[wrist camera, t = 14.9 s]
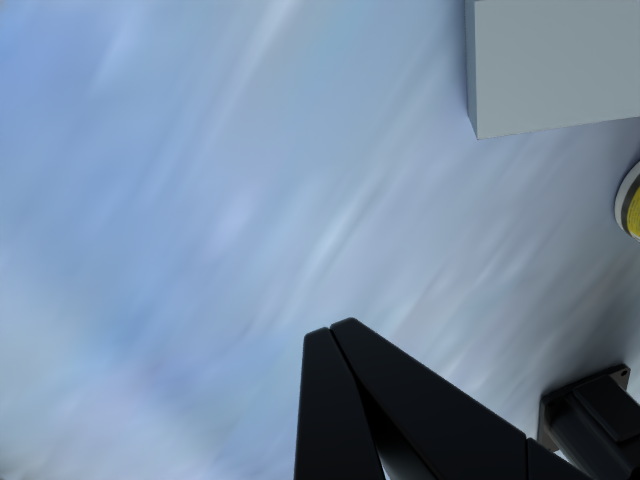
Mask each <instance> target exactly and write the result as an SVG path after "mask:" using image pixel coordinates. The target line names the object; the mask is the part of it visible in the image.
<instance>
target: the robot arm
mask: <svg viewBox="0 0 640 480" xmlns="http://www.w3.org/2000/svg"><path fill="white" fill-rule="evenodd" d="M630 371H631V370H630V368H629V367H628V366H627V365H626V364H620V365H617V366H615V367H613V368H610V369H608V370H606V371H603V372H601V373H598V374H596V375H594V376H591V377H589V378H587V379H584V380H582V381H579V382H577V383H575V384H572V385H570V386H568V387H565V388H563V389H560V390H558V391H556V392H553V393H551V394H548V395H547V396H545V397H544V398H543V399H542V400H541V407H540V423H539V438H538V442H537V441H536V440H534V439H533V438H526V434H525V433H523V432H522V431H520V430H519V429H518V428H516V427H515V426H513V425H512V424H510V423H509V422H507V421H506V420H504V419H503V418H501V417H500V416H498V415H497V414H495V413H494V412H492V411H491V410H490V409H488V408H487V407H485V406H484V405H482V404H481V403H479V402H478V401H476V400H475V399H473V398H472V397H470V396H469V395H467V394H466V393H464V392H463V391H461V390H460V389H459V388H457V387H456V386H454V385H453V384H451V383H450V382H448V381H447V380H445V379H444V378H442V377H441V376H439V375H438V374H436V373H435V372H433V371H432V370H431V369H429V368H428V367H426V366H425V365H423V364H422V363H420V362H419V361H417V360H416V359H414V358H413V357H411V356H410V355H408V354H407V353H405V352H404V351H402V350H401V349H400V348H398V347H397V346H395V345H394V344H392V343H391V342H389V341H388V340H386V339H385V338H383V337H382V336H380V335H379V334H377V333H376V332H374V331H373V330H371V329H370V328H369V327H367V326H366V325H364V324H363V323H361V322H360V321H358V320H357V319H355V318H352V317H350V318H347V319H344V320H341V321H339V322H336V323H333V324H332V325H331V326H330V329H329V328H328V327H323V328H320V329H318V330H315V331H312V332H310V333H307V334H306V335H305V337H304V343H303V357H302V371H301V384H300V398H299V411H298V425H297V439H296V452H295V466H294V480H386V478H385V475H384V471H383V468H382V465H383V467H384V469H385V471H386V472H387V474H388V476H389V478H390V479H391V480H640V405H639V404H638V403H637V402H636V401H635V400H634V399H633V398H632V397H631V396H630V395H629V394H628V393H627V392H626V389H627V385H628V380H629V375H630ZM558 450H561V452H562V453H563V454H564V455H565V457H566V458H567V459H568V461H569V462H570V463H571V464H570V463H569V462H567V461H566V460H564V459H562V458H561V457H559V456H558V455H556V454H555V453H553V452H555V451H558ZM381 463H382V464H381Z"/></svg>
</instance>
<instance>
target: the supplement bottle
mask: <svg viewBox="0 0 640 480" xmlns="http://www.w3.org/2000/svg"><path fill="white" fill-rule="evenodd" d="M615 218H616V221H617V223H618V225H619V226H620V228H621V229H622V230H623V231H625V232H626V233H627V234H628V235H630V236H631V237H633V238H634V239H636V240H637V241H638V242H640V161H639V162H638V163H637V164H636V165H635V166H634V167H633V168H632V169H631V171H630V172H629V173H628V174H627V176H626V177H625V179H624V180H623V182H622V184H621V186H620V188H619V191H618V194H617V197H616V201H615Z"/></svg>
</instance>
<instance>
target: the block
mask: <svg viewBox="0 0 640 480" xmlns="http://www.w3.org/2000/svg"><path fill="white" fill-rule="evenodd" d="M464 4H465V35H466V66H467V97H468V117H469V119H470V122H471V124H472V127H473V130H474V132H475V135H476V137H477V140H479V139H486V138H493V137H500V136H507V135H514V134H521V133H527V132H534V131H541V130H548V129H555V128H562V127H569V126H576V125H583V124H590V123H597V122H603V121H610V120H617V119H624V118H631V117H638V116H640V0H464Z"/></svg>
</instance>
